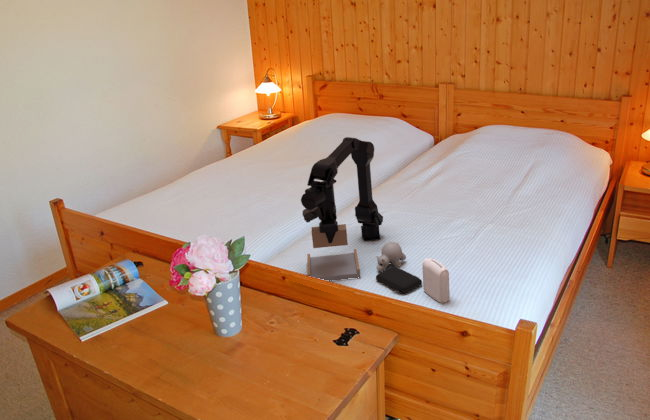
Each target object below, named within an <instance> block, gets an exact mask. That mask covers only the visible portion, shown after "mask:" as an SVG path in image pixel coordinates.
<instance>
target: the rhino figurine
mask: <svg viewBox="0 0 650 420" xmlns="http://www.w3.org/2000/svg"><path fill="white" fill-rule="evenodd" d="M375 258H377V259H376V260H377V261H376V262H377V265H376V269H377V270H378V271H379V272H381V271H384V270H386V269H387V267H388V266H389V265H390V264H389V263H391V264H393V266H394V267H395V266H398V267H400V266H401V265H402V263H401V262H402V261H403V262H404V261H405V260H406V259H407V255H406V254H405V253H404V252H403V250H402V247H401V245H400V244H399V243H398V242H395V241H388V242H386V243H385V244H384V245H382V247H381V255H380V256H377V255H376V256H375Z"/></svg>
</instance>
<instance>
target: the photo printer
mask: <svg viewBox="0 0 650 420" xmlns="http://www.w3.org/2000/svg"><path fill="white" fill-rule="evenodd" d="M449 272H450V271H449V270H448V269H447V267H446V266H445V265H444V264H443V263H441V262H440V261H438V260H437V259H434V258H430V257H429V258H428V257H427V258H425V259H424V260H423V262H422V287H423V288H422V289H423V291H424V292H425V293H426V294H427V295H428V296H430V297H431V298H432V299H434V300H435V301H437V302H438V303H441V304H443V303H448V301H449V300H450V273H449Z"/></svg>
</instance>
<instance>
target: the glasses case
mask: <svg viewBox="0 0 650 420" xmlns="http://www.w3.org/2000/svg"><path fill="white" fill-rule="evenodd" d="M311 237H312V238H311V240H312V241H311V242H312V248H313V249H320V248H329V247H340V246H341V247H342V246H348V245H349V243H348V233H347V224H346V223H343V224H341V223H340V224H338V231H337V232H336V233H335V236H334V238H333V241H332V243H329V242H328V240H327V237H326V234H325V233H320V230H319V226H311Z"/></svg>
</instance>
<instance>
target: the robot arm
mask: <svg viewBox="0 0 650 420" xmlns="http://www.w3.org/2000/svg"><path fill="white" fill-rule="evenodd" d="M349 156H351V159H352V160H353V162H354V164H355V166H356V175H357V187H358V199H359V200H358V201H359V202H358V203H357V205H356V206H355V207H354V212H355V213H354V216H355V218H356V221H357V223H358V224H362V225H361V226H360V231H361V233H360V234H361V238H363V241H364V242H367V241H379V240H380V241H381V239H382V238H381V235H380V233H381V232H380V226H382V225H383V221H384V216H383V215H382V214H381V213H380V212H379V209H378V205H377V204H376V202H375V200H374V199H373V190H372V189H373V187H372V176H371V175H372V173H371V162H372V160H373V158H374V157H375V145H374V143H372V142H371V141H365V140H360V139H358V138H357V137H349V136H348V137H347V136H346V137H344V138H343V139H342V141H341V142H340V144H339V145H338V146H337V147H336V148H335V149H334V150H333V151H332V152H331V153H330V154H328V156H327V157H326V158H322V159H319V160H318V161H317V162H315V163H313V165H312V166H311V171H310V174H309V177H308V181H307V186H308V187H309V188H306V189H305V190H304V193H303V194H302V196H301V197H300V202H301V203H300V204H301V205H302V206H303V208H304V209H303V210H302V214H301V215H302V217H303V220H304V221H305V222H306V223H311V221H313V220H316V219H318V220H320V222H319V223H318V225H319V226H318V227H319V230H320V233H325V234H326V237H327V240H328V242H329V243H332V241H333V238H334V236H335V233H336V232H337V231H338V225H339V224H338V221H337V217H338V216H337V206H336V200H335V199H336V197H335V190H334V189H335V188H334V184H335V183H337V180H336V179H335V178H336V176H338V175H337V174H338V171H339V170H338V169H339V167H340V166H341V165H342V164H343V163H344V162H345V160H347V158H349Z"/></svg>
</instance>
